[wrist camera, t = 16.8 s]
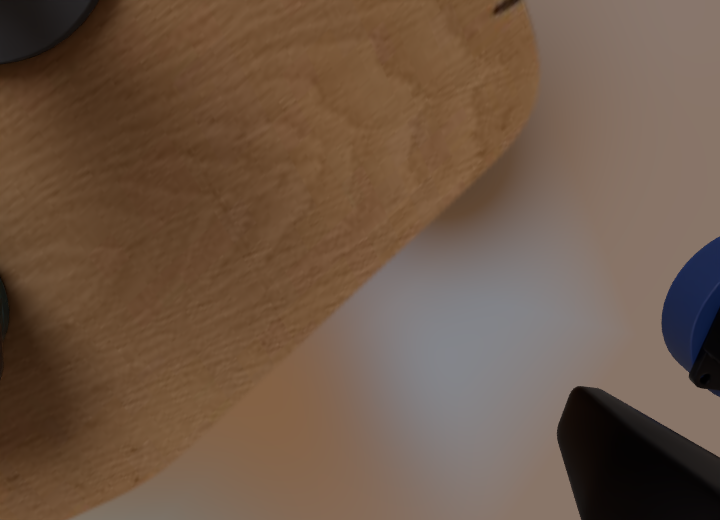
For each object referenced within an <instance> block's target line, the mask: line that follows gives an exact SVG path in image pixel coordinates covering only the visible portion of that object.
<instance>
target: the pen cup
mask: <svg viewBox="0 0 720 520" xmlns="http://www.w3.org/2000/svg"><path fill="white" fill-rule="evenodd" d="M8 323H9V305H8V298H7V294H6V290H5V287H4V284H3V282H2V280H1V277H0V324H1V328H2V343H3V340H4V338H5V335H6V333H7V328H8Z"/></svg>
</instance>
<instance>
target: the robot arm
mask: <svg viewBox="0 0 720 520" xmlns="http://www.w3.org/2000/svg"><path fill="white" fill-rule="evenodd" d="M2 373H3V345H2V328H1V324H0V379H1V377H2ZM704 374H705V375H704ZM702 375H704V376H703V377H702V378H701V376H702ZM689 378H690V380H691V381H692V382H693V383H694V384H695V385H696V386H697V387H699V388H704V389H711V390H719V391H720V307H719V309H718V311H717V314H716V316H715V318H714V320H713V322H712V325H711V327H710V329H709V331H708V333H707V336H706V338H705V340H704V342H703V344H702V346H701V349H700V351H699V353H698V355H697V357H696V360H695V362H694V364H693V366H692V368H691V371H690V373H689ZM557 439H558V444H559V447H560V450H561V453H562V457H563V460H564V464H565V467H566V470H567V474H568V477H569V481H570V484H571V487H572V491H573V494H574V497H575V501H576V504H577V507H578V511H579V514H580V517H581V520H720V457H718V456H716V455H714V454H713V453H711V452H709V451H707V450H705V449H704V448H702V447H700V446H699V445H697V444H695V443H693V442H692V441H690V440H688V439H687V438H685V437H683V436H681V435H679V434H678V433H676V432H674V431H672V430H671V429H669V428H667V427H666V426H664V425H662V424H660V423H659V422H657V421H655V420H654V419H652V418H650V417H648V416H646V415H645V414H643V413H641V412H640V411H638V410H636V409H634V408H633V407H631V406H629V405H628V404H626V403H624V402H622V401H621V400H619V399H617V398H615V397H614V396H612V395H610V394H608V393H606V392H605V391H603V390H601V389H598V388H591V387H583V386H578V387H576V388H574V389H573V390H572V391H571V393H570V395H569V398H568V400H567V403H566V405H565V408H564V411H563V414H562V417H561V419H560V422H559V424H558V429H557Z"/></svg>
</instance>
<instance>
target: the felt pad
mask: <svg viewBox="0 0 720 520" xmlns="http://www.w3.org/2000/svg"><path fill="white" fill-rule="evenodd" d="M97 2H98V0H0V64H5V63H11V62H17V61H21V60H24V59H27V58H30V57H34V56H36V55H39V54H41V53H43V52H45V51H47V50H49V49H51V48H53V47H54V46H56V45H57V44H59V43H60V42H62V41H63V40H64V39H66V38H67V37H69V36H70V35H71V34H72V33H73V32H74V31H75V30H76V29H77V28H78V27H79V26H80V25H81V24H82V23H83V22H84V21H85V20H86V18H87V17H88V16H89V14H90V13H91V12H92V10H93V9H94V8H95V6H96V4H97Z"/></svg>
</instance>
